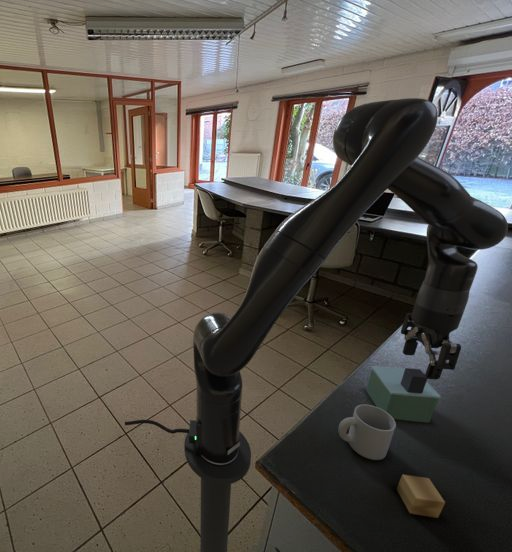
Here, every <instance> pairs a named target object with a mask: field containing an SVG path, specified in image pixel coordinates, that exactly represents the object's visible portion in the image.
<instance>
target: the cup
mask: <svg viewBox="0 0 512 552" xmlns="http://www.w3.org/2000/svg"><path fill="white" fill-rule="evenodd" d="M395 420H396V419H393V417H392V416H391V415H390V414H388V413H387V412H386V411H384V410H382V409H380V408H378V407H377V406H376V405H372V404H366V403H365V404H364V403H363V404H357V406H355V407H354V410H353V414H352V416H350V417H345V418H344V419H342V420H341V421H340V423H339V424H338V431H337V432H338V436H339V438H341V439H342V440H343V441H344V442H347V443H348V444H349V445H350V446H349V447H351V448H352V450H354V451H355V452H356V453H357V454H358V455H359V456H361V457H362V458H365V459H368V460H372V461H380V460H383V459H385V457H386V456H387V454H388V451H389V448H390V445H391V442H392V439H393V436H394V432H395V430H396V427H397V423H396V421H395ZM348 429H349V430H348ZM347 432H348V433H347Z"/></svg>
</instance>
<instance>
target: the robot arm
mask: <svg viewBox="0 0 512 552" xmlns="http://www.w3.org/2000/svg"><path fill="white" fill-rule="evenodd" d="M438 118H439V115H438V109H437V106H436V105H435V104H434V103H433V102H432V101H431V100H429V99H426V98H418V97H407V98H405V97H404V98H399V99H389V100H380V101H379V100H377V101H373V102H367V103H362V104H360V105H357V106H354V107H353V108H351V109H349V110H348V111H346V113H345V114H343V116H342V117H341V118H340V119H339V121H338V123H337V125H336V126H335V128H334V131H333V134H332V148H333V151H334V153H335V155H336V157H338V159H339V160H340V161H342V162H344V163H345V164H347V165H349V168H348V169H347V170H346V172H345V173H344V174H343V175H342V176H341V177H340V178H339V179H338V180H337V182H335V183H334V184H333V185H332V186H331V187H330V188H328V189H327V190H326V191H324V192H323V193H322V194H320V195H318V196H317V197H316V198H314V199H313V200H311V201H310V202H309V201H308V203H306V204H304V205H303V206H302V207H300V208H298V209H297V210H295V211H294V212H293V213H291V214H290V215H288V217H286V218H285V219H284V220H283V221H282V222H281V223H280V224H279V225H278V226H277V228H276V229H275V230H274V231H273V233H272V234H271V235H270V237H269V238H268V240H267V241H266V242H265V243H264V245H263V247H262V248H261V250H259V251H260V252H259V253H258V254H257V257H256V259H255V261H254V264H253V267H252V271H251V274H250V277H249V281H248V286H247V288H246V290H245V291H246V292H245V294H244V296H243V299H242V300H241V303H240V304H239V306H238V308H237V309H236V311H235V312H234V313H233V314H232V315H228V314H226V313H224V312H218V311H217V312H211V313H207V314H206V315H204V316H203V317H202V318H200V319H199V320H198V322H197V323H196V325H195V327H194V330H193V337H192V338H193V339H192V344H193V345H192V346H193V347H192V348H193V369H194V377H195V383H196V386H195V387H196V417H195V418H196V419H190V420H189V428H175V429H172V428H169V427H166V426H165V425H163V424H162V423H160V422H158V421H155V420H153V419H152V420H151V419H136V420H130V421H129V420H127V421H124V426H132V425H139V424H149V425H154V426H156V427H158V428H160V429H161V430H162V431H165V432H166V433H168V434H172V435H173V434H178V433H184V434H187V433H189V443H193V444H196V456H198V457H201V458H202V459H203V460H205V461H206V462H207V463H209V464H211V465H214V466H227V465H230V464H231V463H233V462H234V461H235V460H236V458H237V456H238V447H239V446H240V442H239V431H240V426H241V415H242V414H241V412H242V398H243V378H242V377H243V376H242V374H241V371H242V370H243V369H244V368H245V367H246V366H248V365H249V363H250V362H251V361H252V360H253V358H254V357H255V355H256V353H257V351H258V350H259V348H260V347H261V345H262V344H263V342H265V341H264V340H265V339H266V338H267V336H268V334H269V333H270V331H271V330H272V328H273V327H274V325H275V324H276V323H277V321H278V320H279V318H280V317H281V316H282V315H283V313H284V312H285V311H286V309H288V307H289V305H290V304H291V303H292V301H294V299H295V298H296V297H297V295H298V294H299V292H300V291H301V290H302V289H303V288H304V287H305V285H306V284H307V283H308V282H309V281H310V280H311V279H312V278H313V276H315V274H316V273H317V271H318V270H319V269H320V268H321V266H322V265H323V264H324V263H325V262H326V261H327V259H328V258H329V256H330V255H331V254H332V253H333V252H334V250H335V249H336V248H337V246H338V245H339V243H340V242H341V241H342V240H343V239H344V238H345V236H346V235H347V234H348V233H349V231H350V230H351V229H352V228H353V227H354V226H355V224H356V223H357V222H358V221H359V220H360V218H361V217H362V216H363V215H364V214H365V213H366V212H367V210H368V209H370V207H371V206H372V205H374V203H375V202H376V201H377V200H378V199H379V198H380V197H381V196H382V195H383V194H384V193H385V192H386V191H387V190H389V191H390V192H391V193H393V194H394V195H395V196H396V197H397V198H399V199H400V200H401V201H402V202H403V203H405V205H407V206H408V208H409V209H411V210H412V211H413V212H414V213H415V214H416V215H417V216H418V217H419V218H420V219H421V220H422V221H424V222H425V223H426V224H427V226H426V246H427V259H428V262H427V263H428V264H427V267H426V271H425V274H424V278H423V281H422V283H421V285H420V287H419V290H418V292H417V296H416V300H415V302H414V306H413V309H412V312H407V313H405V314H406V315H405V317H404V321H403V323H402V326H401V328H400V334H401V335H403V338H404V341H405V342H404V344H403V349H402V354H403V355H404V356H415V354H416V351H417V348H418V345H419V343H421V344H422V346H423V347H424V351H425V352H424V353H425V354H426V355H428V360H429V363H428V366H427V368H426V371H425V373H424V374H425V376H426V377H427V378H428V379H427V380H439V379H440V378H441V376H442V373H443V370H450V371H451V370H453V371H455V369H456V366H457V362H458V360H459V357H460V353H461V350H462V345H461V344H460V343H454V342H452V341H451V340H450V334H451V333H453V332H454V331H456V330H458V328H459V326H460V324H461V320H462V318H463V315H464V312H465V310H466V307H467V304H468V302H469V297H470V291H471V289H472V286H473V283H474V280H475V277H476V275H477V272H478V267H479V266H478V263H477V262H476V261H475V260H473V259H471V258H469V257H466V256H465V255H463V254H461V253H460V252H459V250H458V248H464V249H469V250H474V251H475V250H476V251H477V250H478V251H481V250H488V249H491V248H493V247H496V246H497V245H499V244H500V243H501V242H502V241H503V240H504V239H505V238H506V237H507V235H508V230H509V225H508V221H507V218H506V217H505V215H504V214H503V213H502V212H501V211H499V210H498V209H496V207H495V208H494V207H493V206H492V205H489V204H488V203H486V202H484V201H483V200H480V199H478V198H475V197H473V196H472V195H470V193H469V192H468V191H467V190H466V189H465V187H464V186H463V184H461V182H460V181H458V179H457V178H455V176H453V175H452V174H450V173H449V172H448V171H445V170H444V169H442V168H440V167H439V166H436V165H435V164H432V163H430V162H428V161H426V160H425V159H423V158H421V157H419V156H420V155H421V154H422V152H423V151H424V150H425V148H426V147H427V146H428V144H429V142H431V141H430V140H431V139H432V137H433V135H434V133H435V130H436V127H437V124H438ZM457 247H458V248H457ZM409 328H410V329H409ZM433 349H440V350H433ZM436 356H438V359H437V358H436Z"/></svg>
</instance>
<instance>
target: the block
mask: <svg viewBox="0 0 512 552" xmlns="http://www.w3.org/2000/svg"><path fill="white" fill-rule="evenodd" d="M396 491H397V493H398V495H399V497H400V498H401V500H402V502H403V503H404V506H405V507H406V509H407V511H408V513H409V514H410V515H411V514H412V515H418V516H424V517H430V518H435V519H439V517H440V515H441V513H442V511H443V508H444V506H445V504H446V501H445V500H444V498H443V497H442V495H441V494H440V493H439V491H438V489H437V488H436V486H435V485H434V483H433V482H432V481H431V479H430V478H429V477H423V476H417V475H408V474H401V477H400V479H399V482H398V485H397V487H396Z"/></svg>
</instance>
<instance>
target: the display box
mask: <svg viewBox="0 0 512 552" xmlns="http://www.w3.org/2000/svg"><path fill="white" fill-rule="evenodd" d="M365 391H366V393H367V394H368V395H369V397H370V399H371V400H372V402H373V403H374V406H376V407H378V408H380V409H382V410H384V411H386V412H387V413H388V414H390V415H391V416H392V417H393V419H394V420H399V421H408V422H417V423H418V422H419V423H428V424H430V422H431V419H432V417H433V414H434V412H435V409H436V407H437V404H438V402H439V399H438V398H426V397H415V396H404V395H393V394H391V393H390V392H389V391H388V389H387V388H386V387H385V385H384V384H383V383H382V381H381V380H380V379H379V377H378V376H377V375H376V373H375V372H374V371H373V369H372V368H371V370H370V375H369V378H368V382H367V386H366V390H365Z"/></svg>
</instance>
